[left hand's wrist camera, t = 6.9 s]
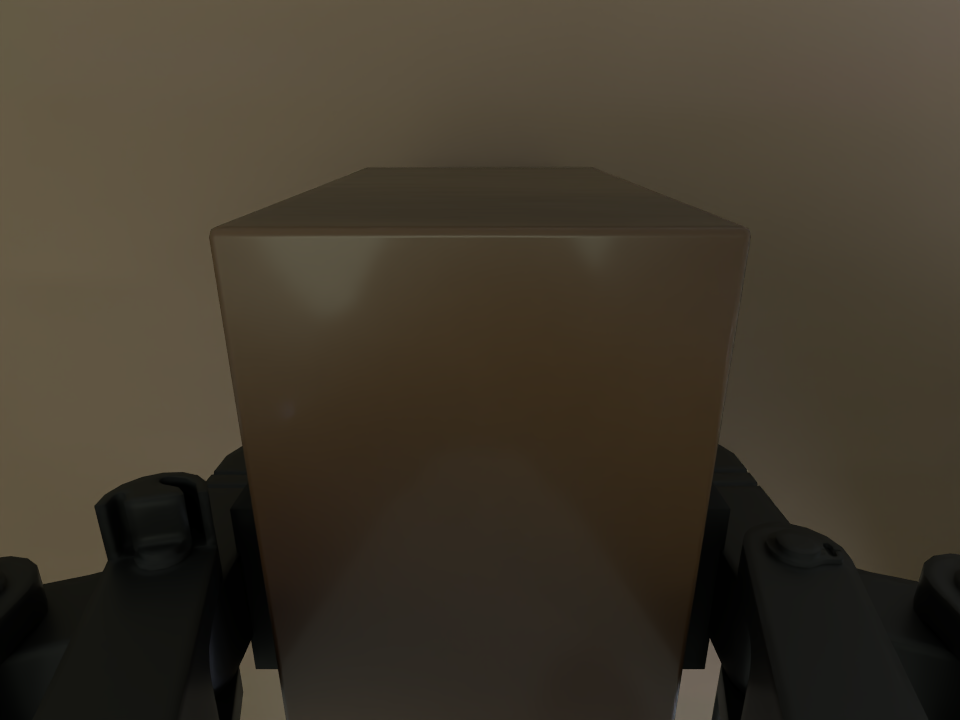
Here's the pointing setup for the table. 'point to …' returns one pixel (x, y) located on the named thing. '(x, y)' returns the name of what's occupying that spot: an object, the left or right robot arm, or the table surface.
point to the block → (480, 436)
